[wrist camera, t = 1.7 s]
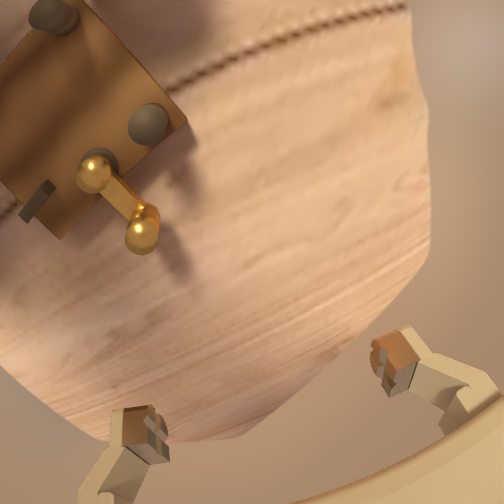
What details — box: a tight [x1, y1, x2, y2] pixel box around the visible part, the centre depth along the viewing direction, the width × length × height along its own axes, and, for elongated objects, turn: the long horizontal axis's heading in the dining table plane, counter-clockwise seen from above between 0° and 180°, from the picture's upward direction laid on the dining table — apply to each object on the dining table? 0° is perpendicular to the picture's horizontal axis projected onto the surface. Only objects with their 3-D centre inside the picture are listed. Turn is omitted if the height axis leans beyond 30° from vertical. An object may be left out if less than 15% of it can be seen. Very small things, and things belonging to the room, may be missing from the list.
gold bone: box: [75, 152, 160, 255], centre depth 23 cm, size 9×3×4 cm, turn 36°
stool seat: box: [0, 0, 187, 240], centre depth 19 cm, size 16×16×7 cm
